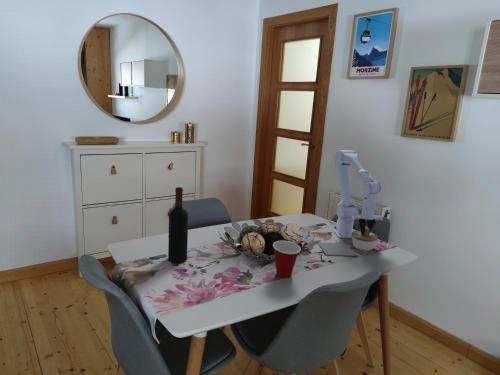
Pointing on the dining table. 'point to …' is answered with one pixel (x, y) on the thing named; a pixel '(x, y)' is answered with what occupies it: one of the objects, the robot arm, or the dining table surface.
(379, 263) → the dining table surface
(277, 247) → the plastic cup
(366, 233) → the lid
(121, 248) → the dining table surface
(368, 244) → the ramekin
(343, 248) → the mat
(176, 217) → the wine bottle
